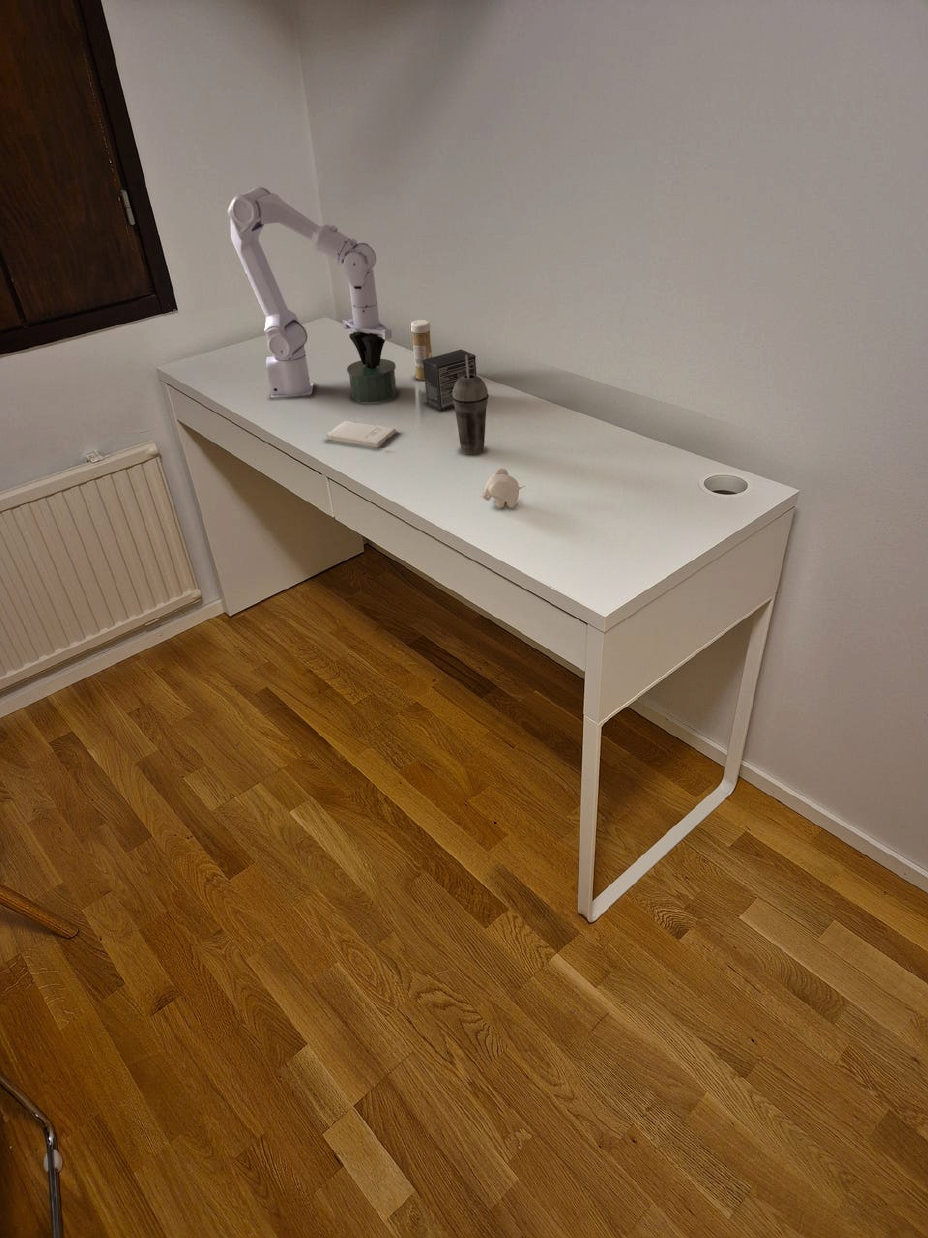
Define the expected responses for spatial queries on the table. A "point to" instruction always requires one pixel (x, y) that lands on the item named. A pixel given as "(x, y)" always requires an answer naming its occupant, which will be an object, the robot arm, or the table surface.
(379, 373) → the lid
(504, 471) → the elephant figurine
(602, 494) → the table surface
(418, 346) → the sprinkles bottle
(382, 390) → the green faceted bucket
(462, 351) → the small box
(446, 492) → the table surface
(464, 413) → the beverage cup
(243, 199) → the robot arm
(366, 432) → the hard drive
